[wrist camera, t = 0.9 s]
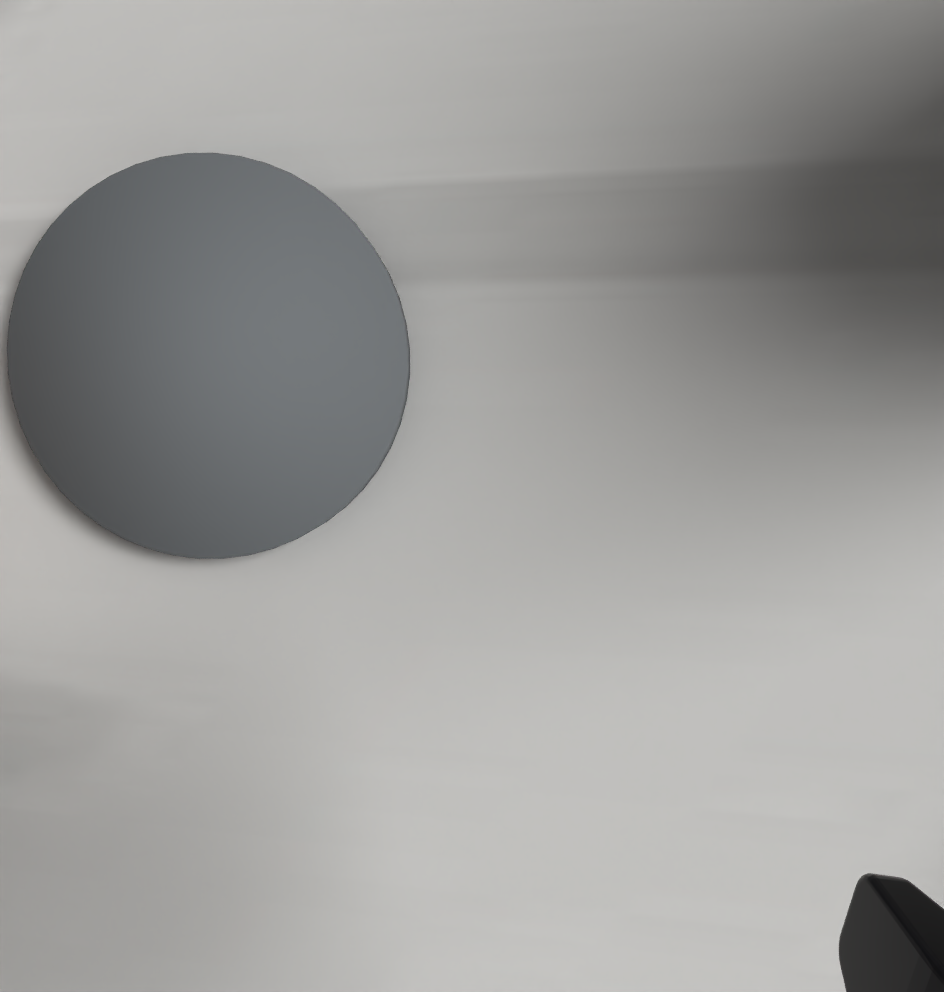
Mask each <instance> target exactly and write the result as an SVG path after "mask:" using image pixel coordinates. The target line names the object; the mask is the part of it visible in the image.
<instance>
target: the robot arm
mask: <svg viewBox="0 0 944 992" xmlns="http://www.w3.org/2000/svg"><path fill="white" fill-rule="evenodd" d="M839 960H840V965H841V970H842V974H843V979H844V983H845V988H846V992H944V909H943V908H942V907H941V906H939V905H938V904H937V903H936V902H934V901H933V900H932V899H931V898H929V897H928V896H927V895H926V894H925V893H923V892H922V891H921V890H920V889H918V888H917V887H916V886H915V885H913V884H912V883H911V882H909V881H908V880H906V879H903V878H900V877H893V876H886V875H878V874H871V873H869V874H865V875H863V876H862V877H861V878H860V879H859V880H858V882H857V885H856V887H855V890H854V893H853V897H852V900H851V903H850V906H849V909H848V913H847V916H846V919H845V922H844V925H843V928H842V932H841V935H840V940H839Z"/></svg>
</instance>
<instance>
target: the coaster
mask: <svg viewBox="0 0 944 992" xmlns="http://www.w3.org/2000/svg"><path fill="white" fill-rule="evenodd" d="M7 357H8V375H9V381H10V387H11V393H12V399H13V402H14V405H15V409H16V412H17V415H18V419H19V422H20V425H21V427H22V429H23V432H24V434H25V436H26V438H27V441H28V443H29V445H30V447H31V449H32V451H33V453H34V454H35V456H36V458H37V459H38V461H39V462H40V464H41V466H42V467H43V469H44V471H45V472H46V473H47V475H48V476H49V477H50V478H51V480H52V481H53V482H54V483H55V485H56V486H57V487H58V488H59V490H60V491H61V492H62V493H63V494H64V495H65V496H66V497H67V498H68V499H69V500H70V501H71V502H72V503H73V504H74V505H75V506H76V507H77V508H78V509H79V510H81V511H82V512H83V513H85V514H86V515H87V516H89V517H90V518H91V519H93V520H94V521H95V522H97V523H98V524H99V525H101V526H102V527H104V528H106V529H107V530H109V531H111V532H113V533H114V534H116V535H118V536H120V537H121V538H123V539H126V540H128V541H131V542H133V543H135V544H138V545H140V546H143V547H145V548H148V549H151V550H155V551H159V552H163V553H166V554H170V555H175V556H183V557H190V558H217V559H223V558H231V557H239V556H246V555H251V554H255V553H259V552H263V551H266V550H270V549H274V548H276V547H278V546H281V545H283V544H286V543H288V542H290V541H293V540H295V539H298V538H299V537H301V536H303V535H305V534H306V533H308V532H310V531H312V530H313V529H315V528H317V527H319V526H320V525H322V524H324V523H325V522H327V521H328V520H330V519H331V518H332V517H334V516H335V515H336V514H337V513H339V512H340V511H341V510H343V509H344V508H345V507H346V506H347V505H348V504H349V503H350V502H351V501H352V500H353V499H354V498H355V497H356V496H357V495H358V494H359V493H360V492H361V491H362V490H363V489H364V488H365V487H366V485H367V484H368V483H369V481H370V480H371V479H372V477H373V476H374V475H375V473H376V472H377V471H378V469H379V468H380V466H381V464H382V462H383V461H384V459H385V457H386V455H387V454H388V452H389V450H390V448H391V446H392V444H393V441H394V439H395V436H396V434H397V431H398V429H399V426H400V424H401V420H402V416H403V412H404V408H405V405H406V401H407V394H408V386H409V378H410V347H409V340H408V332H407V325H406V320H405V317H404V313H403V309H402V306H401V302H400V298H399V296H398V294H397V291H396V289H395V286H394V284H393V282H392V279H391V277H390V274H389V273H388V271H387V269H386V267H385V266H384V264H383V262H382V261H381V259H380V257H379V255H378V254H377V252H376V250H375V249H374V248H373V246H372V245H371V243H370V242H369V241H368V239H367V238H366V237H365V235H364V234H363V233H362V231H361V230H360V229H359V228H358V226H357V225H356V224H355V222H354V221H353V220H352V219H351V218H350V217H349V216H348V215H347V214H346V213H345V212H344V211H343V210H342V209H341V208H340V207H339V206H338V205H337V204H336V203H334V202H333V201H332V200H331V199H329V198H328V197H327V196H325V195H324V194H323V193H321V192H320V191H319V190H318V189H316V188H315V187H314V186H312V185H310V184H308V183H307V182H305V181H303V180H301V179H300V178H298V177H296V176H295V175H293V174H291V173H289V172H286V171H284V170H282V169H279V168H277V167H274V166H272V165H270V164H267V163H264V162H260V161H256V160H253V159H249V158H245V157H241V156H235V155H227V154H219V153H185V154H178V155H171V156H165V157H159V158H156V159H152V160H149V161H146V162H142V163H139V164H135V165H133V166H131V167H129V168H126V169H124V170H122V171H120V172H117V173H115V174H113V175H111V176H109V177H108V178H106V179H105V180H103V181H101V182H100V183H98V184H96V185H95V186H93V187H92V188H90V189H89V190H87V191H86V192H85V193H84V194H83V195H81V196H80V197H79V198H78V199H77V200H75V201H74V202H73V203H72V204H70V205H69V206H68V207H67V208H66V210H65V211H64V212H63V213H62V214H61V215H60V216H59V217H58V218H57V219H56V220H55V221H54V223H53V224H52V225H51V226H50V227H49V229H48V230H47V232H46V233H45V235H44V236H43V237H42V239H41V240H40V242H39V243H38V245H37V246H36V248H35V250H34V252H33V254H32V255H31V257H30V259H29V261H28V263H27V265H26V267H25V269H24V271H23V274H22V277H21V280H20V282H19V285H18V288H17V291H16V293H15V297H14V302H13V306H12V311H11V315H10V320H9V331H8V342H7Z"/></svg>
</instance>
